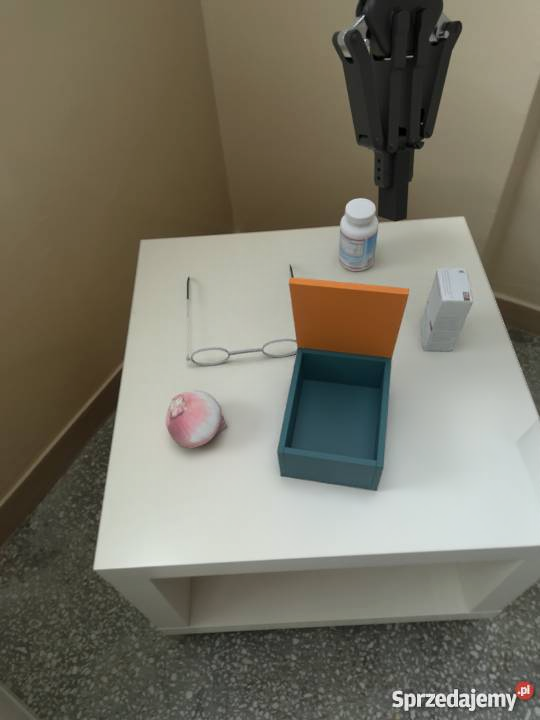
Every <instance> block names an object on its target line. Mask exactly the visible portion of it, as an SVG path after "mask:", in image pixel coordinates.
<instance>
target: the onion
mask: <svg viewBox="0 0 540 720" xmlns="http://www.w3.org/2000/svg"><path fill="white" fill-rule="evenodd" d="M165 426H166V430H167V432H168V434H169V435H170V437H171V438H172V440H173V441H174V442H175V443H176V444H178V445H179V446H182V447H183V448H188V449H194V448H197V447H198V448H199V447H200V446H204V445H206V444H207V443H208V442H210V441H211V440H212V439H213V438H214V437H215V436H216V435H217V434H219V433H220V432H221V431H222V430H223V429H225V428H226V427H227V426H228V424H227V422H226V419H225V417H224V415H223V412H222V406H221V405H220V403H219V402H218V401H217V400H216V398H215V397H214V396H213V395H211V394H210V393H208V392H206V391H203V390H198V389H190V390H186V391H183V392H181V393H179V394H177V395H175V396H174V397H173V398H172V399H170V403H169V405H168V408H167V411H166V414H165Z"/></svg>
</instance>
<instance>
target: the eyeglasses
mask: <svg viewBox="0 0 540 720" xmlns="http://www.w3.org/2000/svg"><path fill="white" fill-rule="evenodd" d="M289 270H290V277H291V278H295V277H294V271H293V267H292V264H289ZM189 283H190V276H187V280H186V300H187V302H186V304H187V305H186V306H187V308H186V309H187V317H189V299H190V284H189ZM281 342H291V343H292V342H293V343H295V344H297V341H296V339H293V338H280V339H274V340H270V341H268V342H265V343H264V344H263V345H262V346H261V347H259V348H257V347H256V348H249V349H248V348H247V349H240V350H233V351H229V350H227V348H224V347H216V346H215V347H214V346H213V347H205V348H199V349H197V350H195V351H193V352H192V353H191V356H189V355H186V357H185V361H191V362H192V363H193V364H195V365H196V366H202V367H207V366H216V365H221V364H224V363H225V362H227V361H228V360H229V359H230V357H231V356H232V355H233V356H234V355H241V354H242V355H243V354H250V353H259V352H261V353H262V354H263V355H265V356H267V357H270V358H284V357H290V356H293V355H296V353H297V349H296V350H293V351H291V352H288V353H282V354H271V353H267V352H265V351H264V350H265V347H267V346H269V345H271V344H274V343H275V344H276V343H281ZM205 351H206V352H207V351H223V352H225V353H226V354H227V357H226V358H224V359H222V360H219V361H216V362H215V361H214V362H198V361H196V360H194V355H197V354H198V353H200V352H205Z"/></svg>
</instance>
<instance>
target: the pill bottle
mask: <svg viewBox="0 0 540 720" xmlns="http://www.w3.org/2000/svg"><path fill="white" fill-rule="evenodd" d="M344 209H345V210H344V214H343V216H342V217H341V219H340V224H339V245H338V260H339V262H340V264H341V265H342V266H343V267H344V268H345V269H347V270H349V271H351V272H362V271H366V270H367V269H369V268H370V267H371V266H372V265H373V264H374V262H375V258H376V251H377V241H378V234H379V233H378V232H379V220H378V218H377V217H378V216H376V211H377V208H376V205H375V203H374V202H373V201H372V200H370V199H367V198H363V197H360V198H354V199H351V200H349V201H348V202H347V203H346V206H345V208H344Z"/></svg>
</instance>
